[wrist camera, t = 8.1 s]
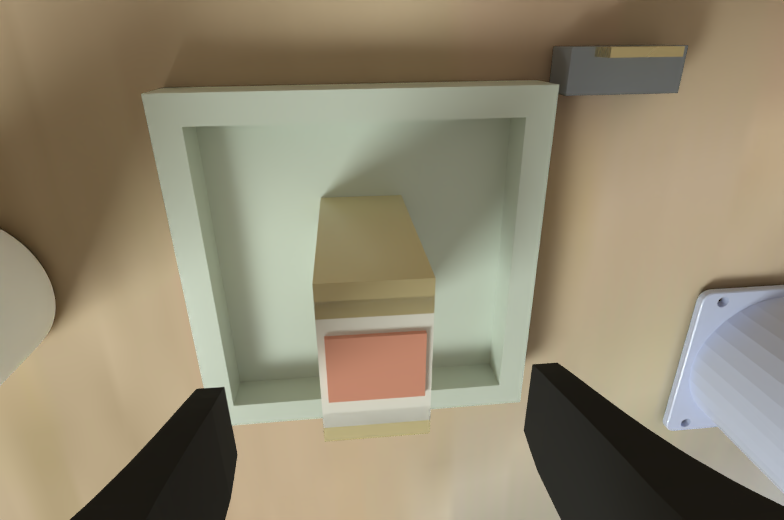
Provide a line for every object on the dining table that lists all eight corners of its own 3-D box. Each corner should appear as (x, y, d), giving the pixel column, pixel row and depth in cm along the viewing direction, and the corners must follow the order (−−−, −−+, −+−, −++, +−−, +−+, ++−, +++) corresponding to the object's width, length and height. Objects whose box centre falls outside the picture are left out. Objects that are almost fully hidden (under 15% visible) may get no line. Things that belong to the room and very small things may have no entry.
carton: (401, 195, 18) (436, 280, 12) (400, 310, 20) (430, 437, 14) (320, 197, 18) (311, 286, 12) (328, 314, 20) (324, 445, 14)
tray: (536, 79, 18) (559, 84, 16) (505, 373, 23) (520, 402, 21) (162, 87, 16) (140, 93, 15) (222, 394, 22) (212, 427, 20)
